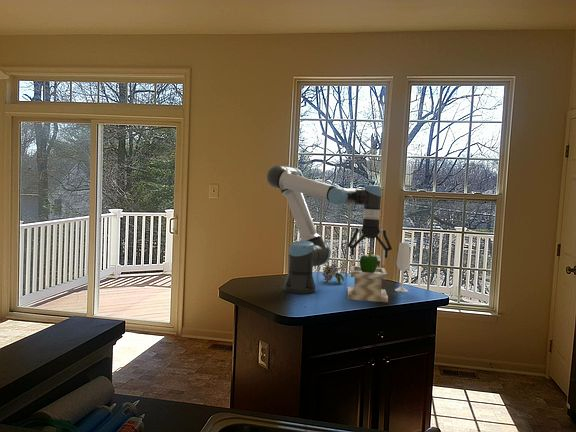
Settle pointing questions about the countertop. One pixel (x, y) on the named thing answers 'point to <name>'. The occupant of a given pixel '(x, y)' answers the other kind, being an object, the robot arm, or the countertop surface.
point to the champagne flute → (403, 262)
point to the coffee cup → (377, 259)
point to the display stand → (368, 285)
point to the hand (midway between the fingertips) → (368, 263)
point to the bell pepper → (368, 263)
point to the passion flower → (332, 273)
